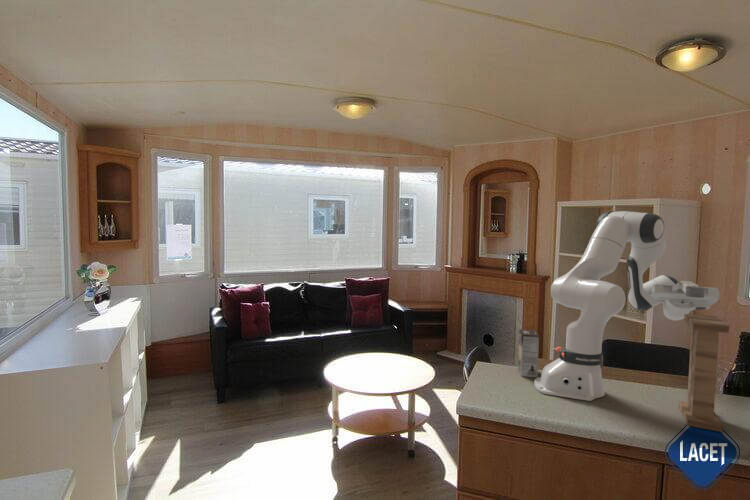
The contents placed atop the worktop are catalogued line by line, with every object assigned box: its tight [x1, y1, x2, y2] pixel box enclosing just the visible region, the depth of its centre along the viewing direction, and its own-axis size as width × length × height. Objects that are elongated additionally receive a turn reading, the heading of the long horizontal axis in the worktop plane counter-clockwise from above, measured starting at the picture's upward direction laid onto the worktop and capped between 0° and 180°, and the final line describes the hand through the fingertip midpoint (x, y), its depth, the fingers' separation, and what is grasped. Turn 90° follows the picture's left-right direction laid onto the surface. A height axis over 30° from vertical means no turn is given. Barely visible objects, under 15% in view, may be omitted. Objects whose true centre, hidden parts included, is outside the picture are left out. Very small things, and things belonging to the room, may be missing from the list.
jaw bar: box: [679, 280, 705, 298], centre depth 147 cm, size 20×5×3 cm, turn 153°
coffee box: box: [517, 328, 540, 378], centre depth 165 cm, size 9×6×16 cm
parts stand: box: [678, 313, 730, 433], centre depth 127 cm, size 14×8×30 cm, turn 153°
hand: (687, 285), depth 152 cm, fingers closed on jaw bar, 3 cm apart
